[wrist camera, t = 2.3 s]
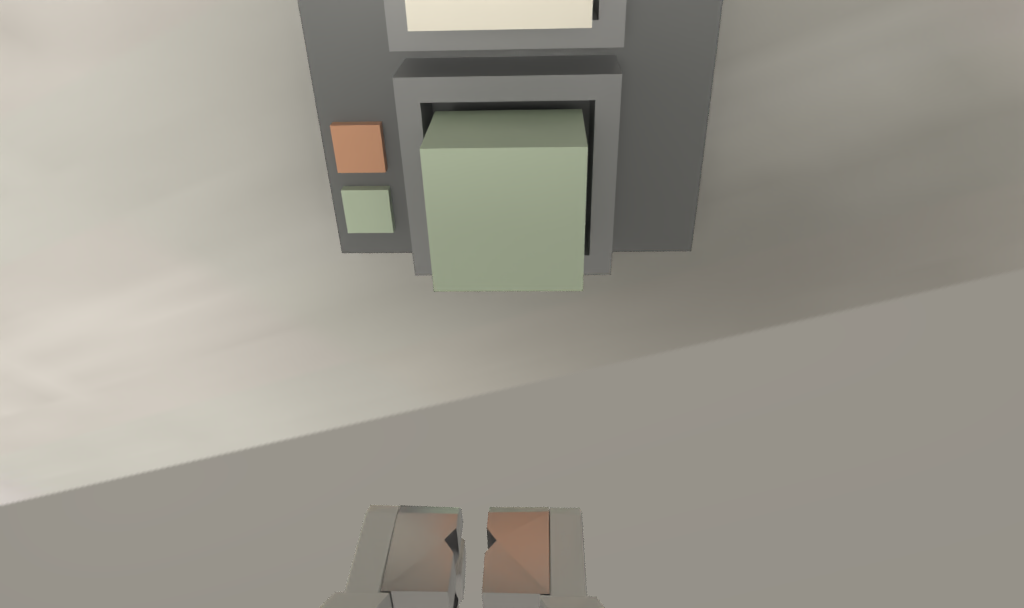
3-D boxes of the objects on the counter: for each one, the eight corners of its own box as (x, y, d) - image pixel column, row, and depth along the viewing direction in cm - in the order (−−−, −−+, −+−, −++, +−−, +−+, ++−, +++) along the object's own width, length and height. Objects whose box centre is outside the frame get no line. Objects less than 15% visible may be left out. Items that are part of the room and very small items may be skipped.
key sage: (582, 109, 23) (587, 146, 20) (578, 240, 25) (582, 291, 23) (435, 111, 23) (419, 148, 20) (446, 241, 26) (434, 291, 23)
